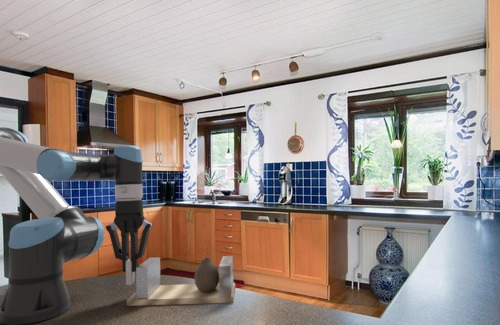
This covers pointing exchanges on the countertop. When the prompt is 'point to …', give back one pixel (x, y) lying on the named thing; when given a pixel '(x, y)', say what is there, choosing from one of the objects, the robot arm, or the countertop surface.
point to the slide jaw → (148, 277)
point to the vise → (192, 291)
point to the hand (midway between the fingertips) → (130, 283)
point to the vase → (206, 276)
